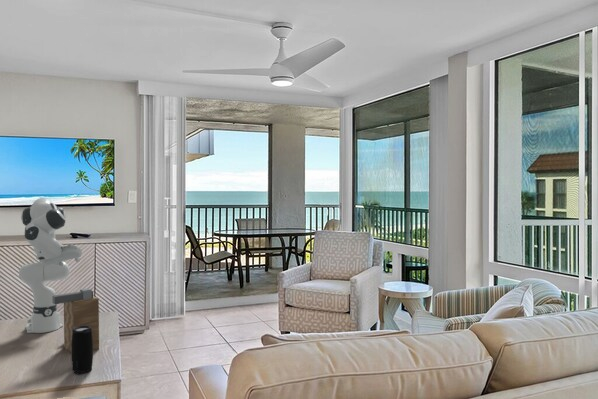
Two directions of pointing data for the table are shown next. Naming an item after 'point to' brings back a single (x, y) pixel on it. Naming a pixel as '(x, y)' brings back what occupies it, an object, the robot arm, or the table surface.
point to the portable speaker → (82, 349)
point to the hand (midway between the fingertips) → (70, 262)
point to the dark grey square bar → (73, 296)
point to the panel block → (81, 319)
